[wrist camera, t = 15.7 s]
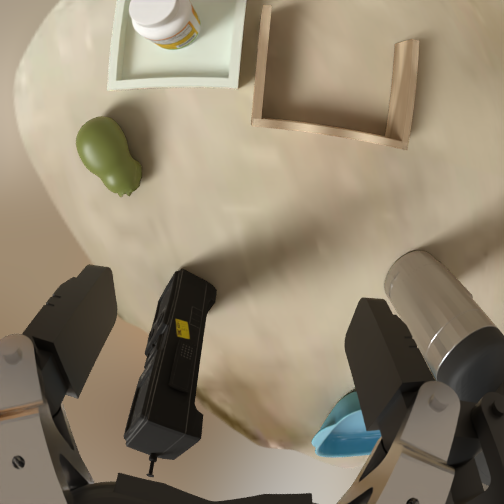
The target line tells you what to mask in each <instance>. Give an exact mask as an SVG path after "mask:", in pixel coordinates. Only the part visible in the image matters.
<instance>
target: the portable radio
mask: <svg viewBox="0 0 504 504" xmlns="http://www.w3.org/2000/svg"><path fill="white" fill-rule="evenodd" d="M215 299H216V289H215V288H214V287H213V286H212V285H211V284H210V283H208V282H207V281H205V280H203V279H201V278H199V277H197V276H195V275H193V274H191V273H189V272H188V271H186V270H184V269H181V270H180V271H176V272H175V273H174V275H173V276H172V278H171V280H170V281H169V283H168V285H167V286H166V288H165V290H164V292H163V294H162V295H161V297H160V299H159V301H158V305H157V310H156V314H155V318H154V321H153V325H152V329H151V331H150V333H149V338H148V343H147V347H146V350H145V355H146V356H147V359H146V362H145V366H144V368H145V370H144V372H143V373H142V375H141V376H140V378H139V381H138V385H137V388H136V392H135V395H134V399H133V403H132V406H131V410H130V414H129V418H128V421H127V425H126V429H125V433H124V439H125V440H126V446H127V447H130V448H132V449H135V450H137V451H140V452H143V453H146V454H148V455H150V457H149V460H150V461H151V463H150V469H149V474H147V476H149V477H154V475H152V472H153V466H154V462H156V461H157V457H158V458H162V459H172V460H174V459H176V458H177V457H178V456H180V455H181V454H182V453H184V452H185V451H186V450H188V449H189V448H190V447H192V446H193V445H194V444H196V443H197V442H198V441H199V440H200V439H201V434H202V422H203V414H201V413H200V412H199V411H198V410H197V409H196V406H195V396H196V388H197V380H198V372H199V365H200V358H201V350H202V343H203V336H204V329H205V322H206V316H207V313H208V311H209V310H210V309H211V307H212V306H213V304H214V303H215Z"/></svg>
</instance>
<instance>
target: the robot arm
mask: <svg viewBox="0 0 504 504" xmlns="http://www.w3.org/2000/svg"><path fill="white" fill-rule="evenodd" d="M385 291H386V294H387V296H388V298H389V299H390V301H391V303H392V304H393V306H394V308H395V309H396V311H397V313H398V314H399V316H400V318H401V319H402V320H401V319H400V318H399V317H398V316H397V315H393V314H392V312H391V310H390V308H389V306H388V304H387V302H386V301H385V300H384V299H375V298H361V299H360V301H359V303H358V305H357V308H356V310H355V313H354V315H353V318H352V320H351V323H350V325H349V328H348V330H347V333H346V337H345V352H346V355H347V359H348V362H349V366H350V370H351V373H352V377H353V381H354V384H355V388H356V392H357V396H358V399H359V403H360V407H361V411H362V415H363V419H364V423H365V427H366V431H375V430H380V433H381V437H380V438H379V439H378V441H377V443H376V444H375V446H374V448H373V450H372V452H371V454H370V455H369V457H368V459H367V461H366V463H365V464H364V466H363V468H362V470H361V471H360V473H359V475H358V477H357V478H356V480H355V481H354V483H353V484H352V486H351V487H350V488H349V490H348V491H347V492H346V493H345V494H344V495H343V497H342V498H341V499H340V500H339V501H338V502H337V504H504V335H503V334H502V333H501V331H500V330H499V329H498V328H497V327H496V326H495V324H494V323H493V322H492V321H491V320H490V318H489V317H488V316H487V315H486V314H485V312H484V311H483V310H482V309H481V308H480V307H479V306H478V304H477V303H476V302H475V301H474V300H473V296H472V294H471V293H470V292H469V291H468V290H467V289H466V288H465V287H464V286H463V285H462V284H461V282H460V281H459V280H458V279H457V278H456V277H455V276H454V275H453V274H452V273H451V272H450V271H449V270H448V269H447V268H446V267H445V266H444V265H443V264H442V263H441V262H440V261H437V260H436V259H435V258H434V257H433V256H432V255H431V254H429V253H428V252H425V251H413V252H410V253H407V254H406V255H404V256H402V257H401V258H400V259H398V260H397V261H396V262H395V263H394V265H393V266H392V267H391V269H390V270H389V272H388V274H387V277H386V280H385ZM116 317H117V302H116V296H115V289H114V282H113V274H112V271H111V269H110V268H109V267H103V266H96V265H90V264H89V265H87V266H86V267H85V268H84V270H83V271H82V272H81V273H80V274H79V275H78V277H77V278H75V277H73V278H71V279H70V280H68V281H66V282H65V283H63V284H61V285H60V287H59V288H58V289H57V290H56V291H55V293H54V294H53V297H50V299H49V300H48V301H47V302H46V305H44V306H43V307H42V309H41V310H40V311H39V312H38V314H37V315H36V316H35V318H34V319H33V320H32V322H31V323H30V324H29V325H28V327H27V328H26V330H25V331H24V332H23V334H12V335H8V336H5V337H3V338H2V339H0V504H316V503H312V494H311V493H306V494H263V495H257V496H252V497H247V498H240V499H234V500H226V501H217V502H214V501H208V500H205V499H203V498H200V497H197V496H195V495H192V494H189V493H187V492H184V491H181V490H179V489H176V488H174V487H172V486H169V485H167V484H164V483H160V482H155V481H150V480H146V479H142V478H137V477H133V476H129V475H126V474H122V473H118V477H117V481H116V482H100V483H94V481H93V479H92V477H91V475H90V473H89V471H88V469H87V467H86V466H85V464H84V462H83V461H82V458H81V457H80V454H79V451H78V449H77V446H76V443H75V440H74V438H73V435H72V432H71V429H70V425H69V422H68V419H67V416H66V412H65V410H64V406H63V404H62V401H63V398H64V396H65V395H68V396H71V397H74V398H77V399H78V398H79V395H80V393H81V391H82V389H83V387H84V385H85V382H86V380H87V378H88V376H89V374H90V372H91V370H92V367H93V366H94V363H95V361H96V359H97V357H98V355H99V353H100V351H101V349H102V347H103V345H104V343H105V341H106V339H107V337H108V336H109V334H110V332H111V330H112V328H113V326H114V324H115V321H116ZM412 338H413V339H412ZM417 346H418V348H417ZM421 353H422V354H421ZM422 355H423V356H422ZM423 357H424V358H423ZM424 359H425V360H426V362H427V364H428V366H429V368H430V369H431V371H432V373H433V375H434V377H435V379H436V380H437V381H434V379H433V376H432V374H431V372H430V370H429V368H428V366H427V364H426V362H425V360H424ZM482 483H484V484H486V485H489V487H488V489H487V490H486V491H485V492H484V490H483V486H482Z"/></svg>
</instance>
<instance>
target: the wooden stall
mask: <svg viewBox="0 0 504 504" xmlns="http://www.w3.org/2000/svg"><path fill="white" fill-rule="evenodd" d="M271 9H272V5H263V9H262V14H261V21H260V31H259V41H258V52H257V63H256V73H255V84H254V96H253V107H252V118H251V125H252V126H254V127H266V128H276V129H285V130H294V131H302V132H310V133H317V134H324V135H331V136H337V137H343V138H349V139H355V140H360V141H366V142H371V143H376V144H381V145H386V146H390V147H395V148H399V149H404V150H407V149H408V143H409V137H410V130H411V123H412V116H413V109H414V100H415V91H416V81H417V69H418V55H419V41H417V40H415V39H411V40H407V41H404V42H400V43H397V44H395V50H394V64H393V75H392V86H391V95H390V104H389V112H388V119H387V126H386V133H385V136H381V135H377V134H372V133H367V132H362V131H356V130H351V129H345V128H340V127H334V126H327V125H321V124H314V123H307V122H299V121H291V120H282V119H273V118H262V117H261V116H262V105H263V95H264V84H265V73H266V62H267V52H268V41H269V30H270V20H271Z"/></svg>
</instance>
